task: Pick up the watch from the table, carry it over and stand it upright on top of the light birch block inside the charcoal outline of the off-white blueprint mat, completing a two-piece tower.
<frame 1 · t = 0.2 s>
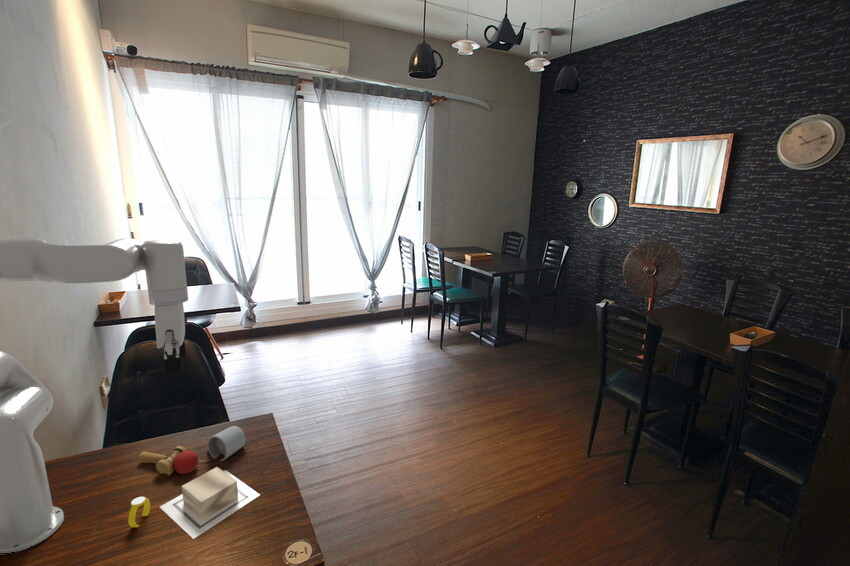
hand: (176, 365, 97), 36 cm above the table, tool pointing down, fingers open, 9 cm apart
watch: (141, 522, 97), on the table
grey hollow cylinder: (224, 453, 123), on the table
birch block: (211, 500, 104), resting on blueprint mat
blueprint mat: (211, 502, 104), on the table
kendama: (168, 468, 116), on the table
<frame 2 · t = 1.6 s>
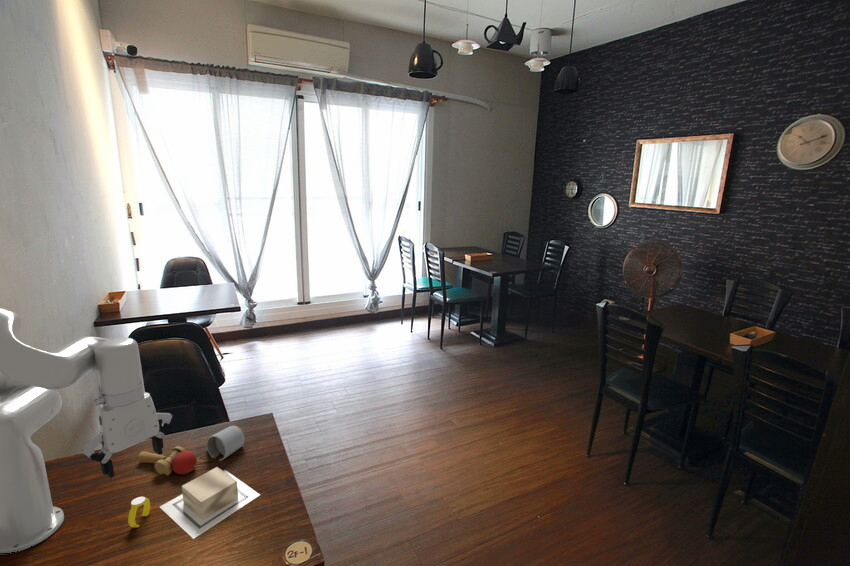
hand: (134, 463, 93), 16 cm above the table, tool pointing down, fingers open, 9 cm apart
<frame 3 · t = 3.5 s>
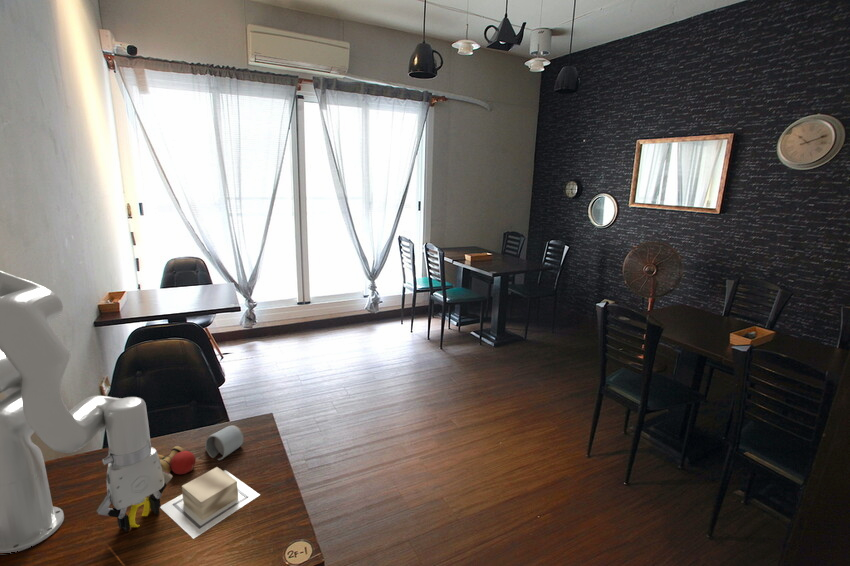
hand: (140, 519, 97), 1 cm above the table, tool pointing down, fingers closed on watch, 5 cm apart
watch: (141, 522, 97), on the table, touching gripper
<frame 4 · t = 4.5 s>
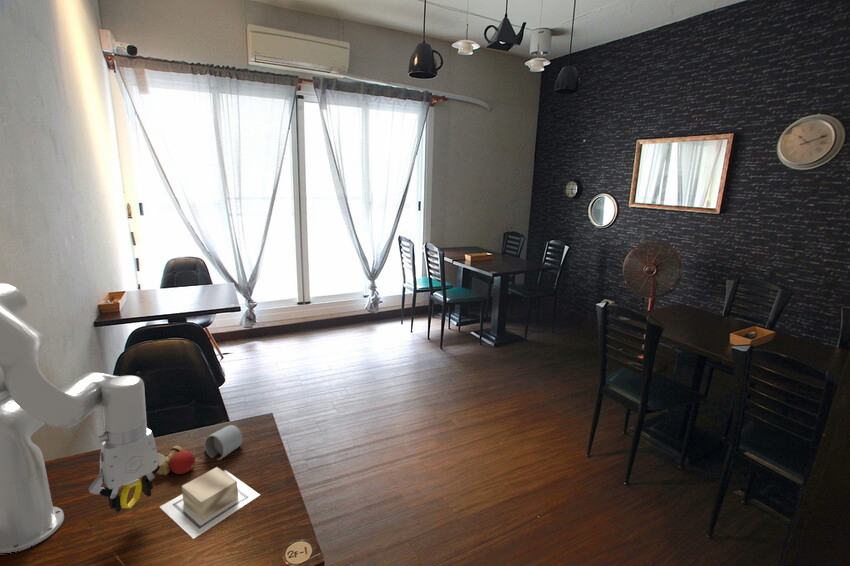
hand: (131, 500, 95), 6 cm above the table, tool pointing down, fingers closed on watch, 5 cm apart
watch: (132, 504, 96), point 5 cm above the table, touching gripper
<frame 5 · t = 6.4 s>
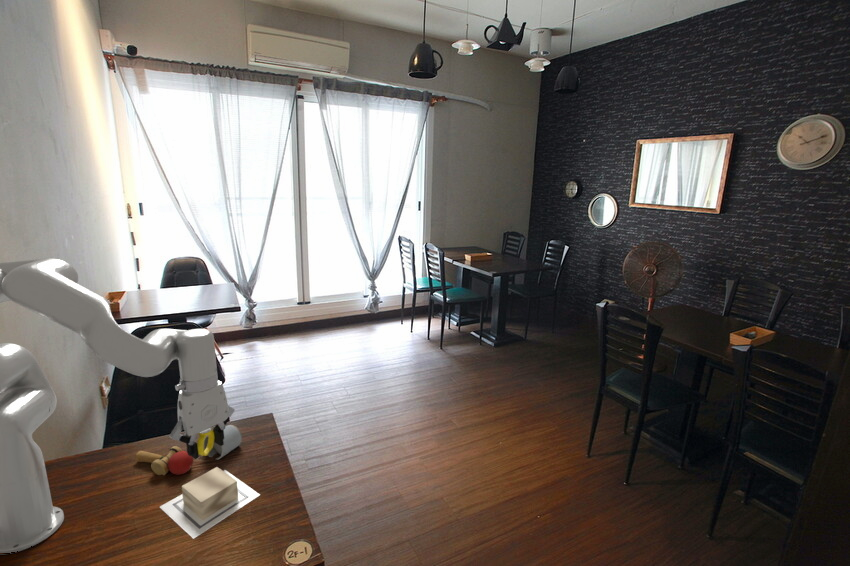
hand: (206, 449, 100), 15 cm above the table, tool pointing down, fingers closed on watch, 5 cm apart
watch: (207, 452, 100), point 14 cm above the table, touching gripper
when the fingers open (7 cm above the table, at t = 7.7 s): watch drops 1 cm, resting on birch block.
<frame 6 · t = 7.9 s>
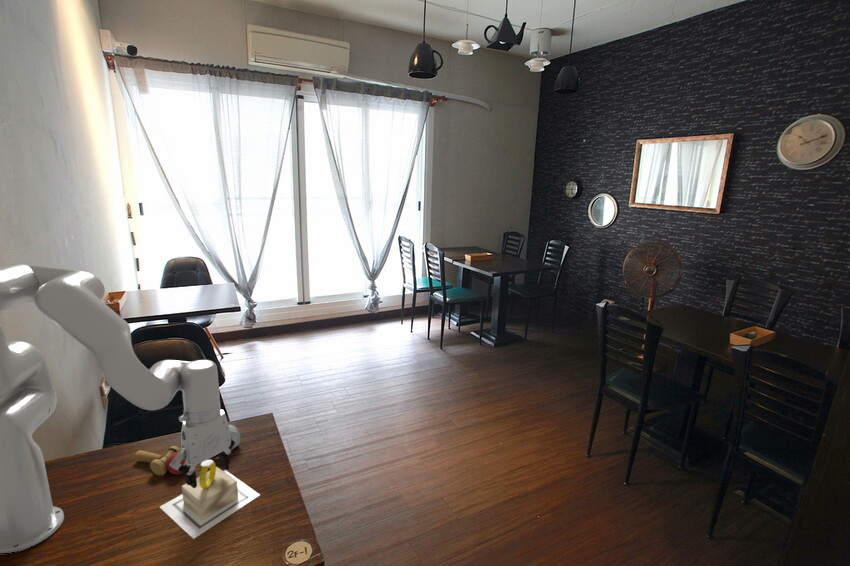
hand: (208, 475, 102), 8 cm above the table, tool pointing down, fingers open, 7 cm apart
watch: (208, 484, 102), point 5 cm above the table, touching birch block
birch block: (211, 500, 104), resting on blueprint mat, touching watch
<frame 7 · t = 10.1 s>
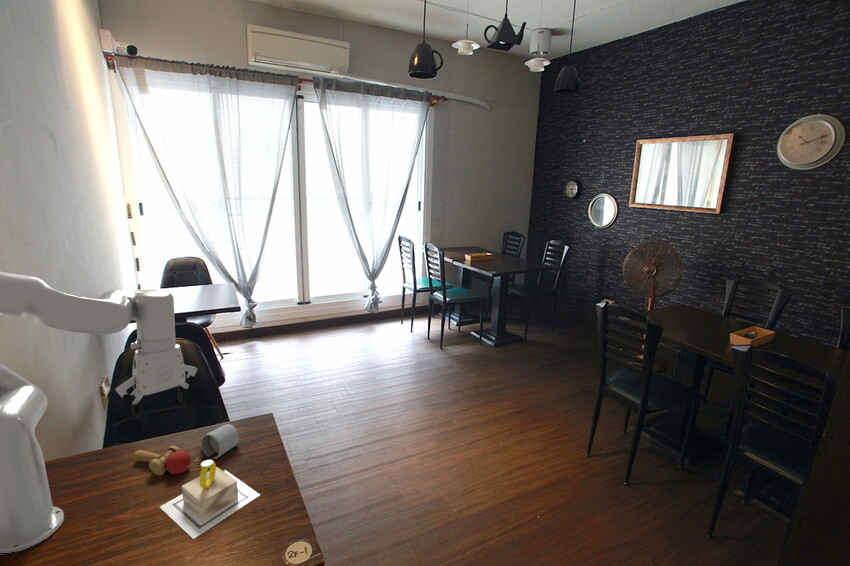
hand: (160, 409, 101), 24 cm above the table, tool pointing down, fingers open, 9 cm apart
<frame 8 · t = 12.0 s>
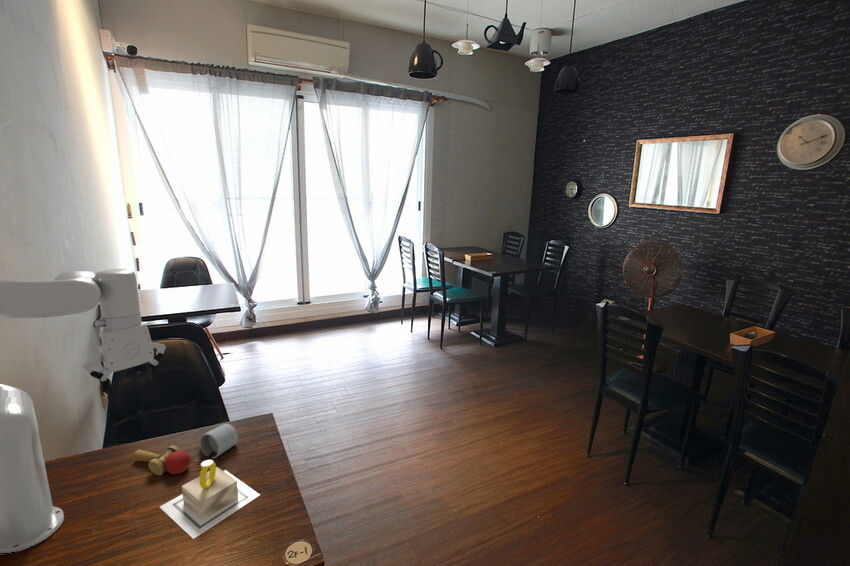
hand: (130, 386, 102), 28 cm above the table, tool pointing down, fingers open, 9 cm apart
at the end: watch 0.1 cm off-centre on the birch block, point 4.8 cm above the birch block's base; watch tilted 0°; the gripper is holding nothing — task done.
